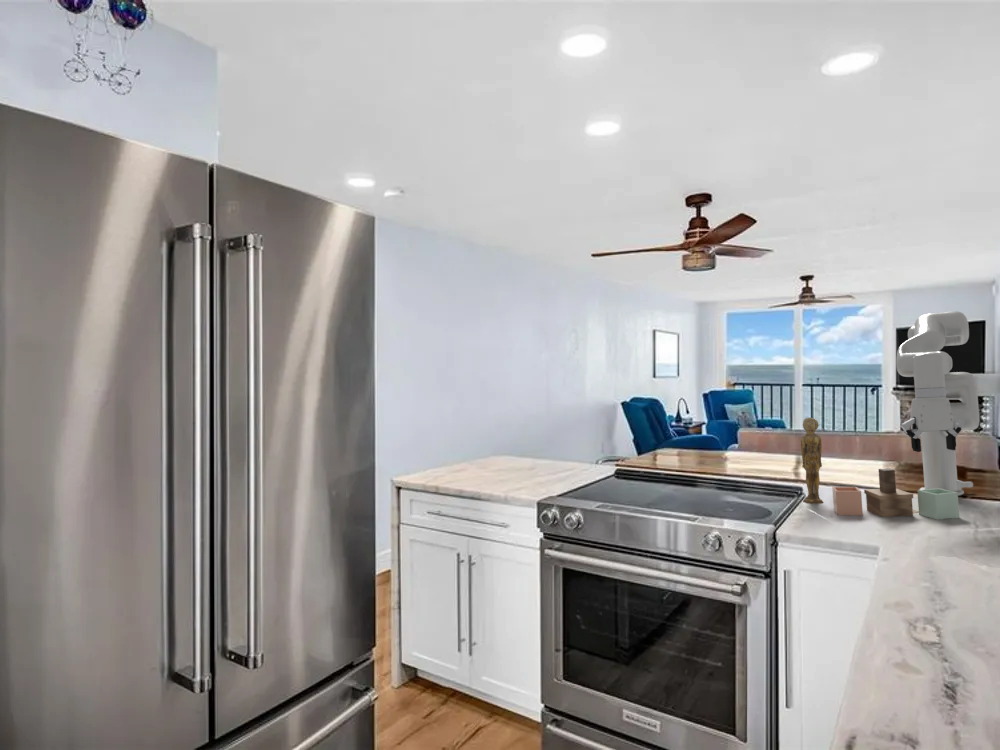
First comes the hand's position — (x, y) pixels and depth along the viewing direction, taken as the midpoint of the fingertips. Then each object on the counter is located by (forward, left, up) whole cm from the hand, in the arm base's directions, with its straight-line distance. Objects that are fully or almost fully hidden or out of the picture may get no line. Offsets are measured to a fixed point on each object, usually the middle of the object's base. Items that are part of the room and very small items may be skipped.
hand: (934, 450), depth 183 cm
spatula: (+5, -12, -20) cm, 24 cm away
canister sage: (0, 0, -20) cm, 20 cm away
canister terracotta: (+22, -9, -20) cm, 31 cm away
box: (+11, -6, -20) cm, 24 cm away
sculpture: (+26, -25, -20) cm, 41 cm away
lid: (+11, -6, -14) cm, 19 cm away
